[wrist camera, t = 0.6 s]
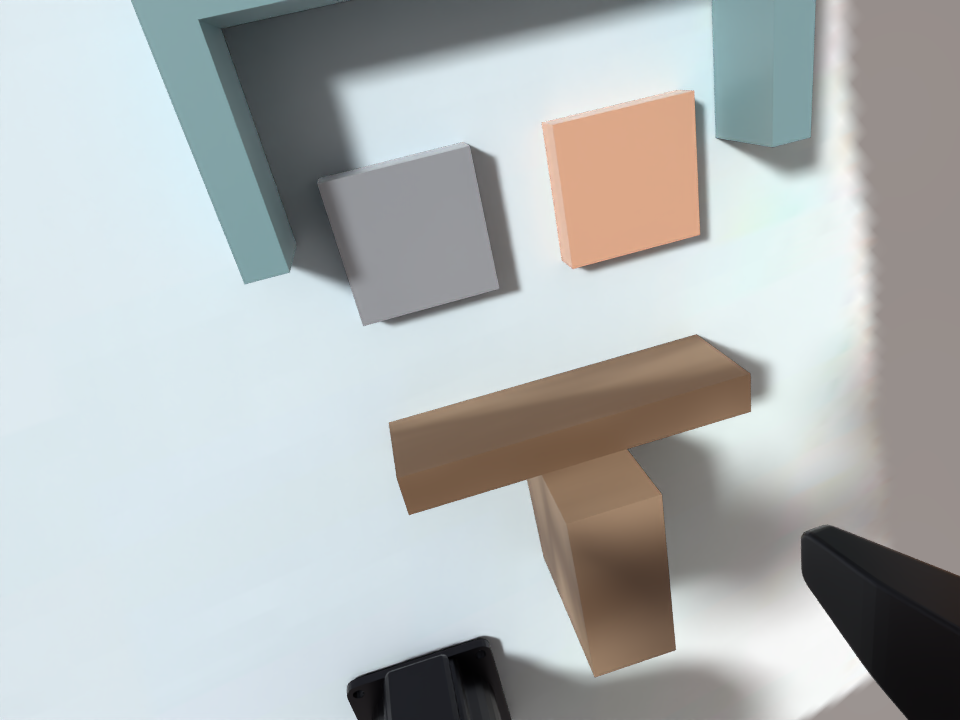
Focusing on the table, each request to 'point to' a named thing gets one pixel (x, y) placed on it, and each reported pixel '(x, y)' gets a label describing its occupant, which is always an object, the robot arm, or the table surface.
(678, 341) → the scraper
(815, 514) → the table surface
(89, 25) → the table surface
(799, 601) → the table surface
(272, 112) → the table surface
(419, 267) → the tile slate
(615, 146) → the tile terracotta
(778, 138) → the teal corner frame
